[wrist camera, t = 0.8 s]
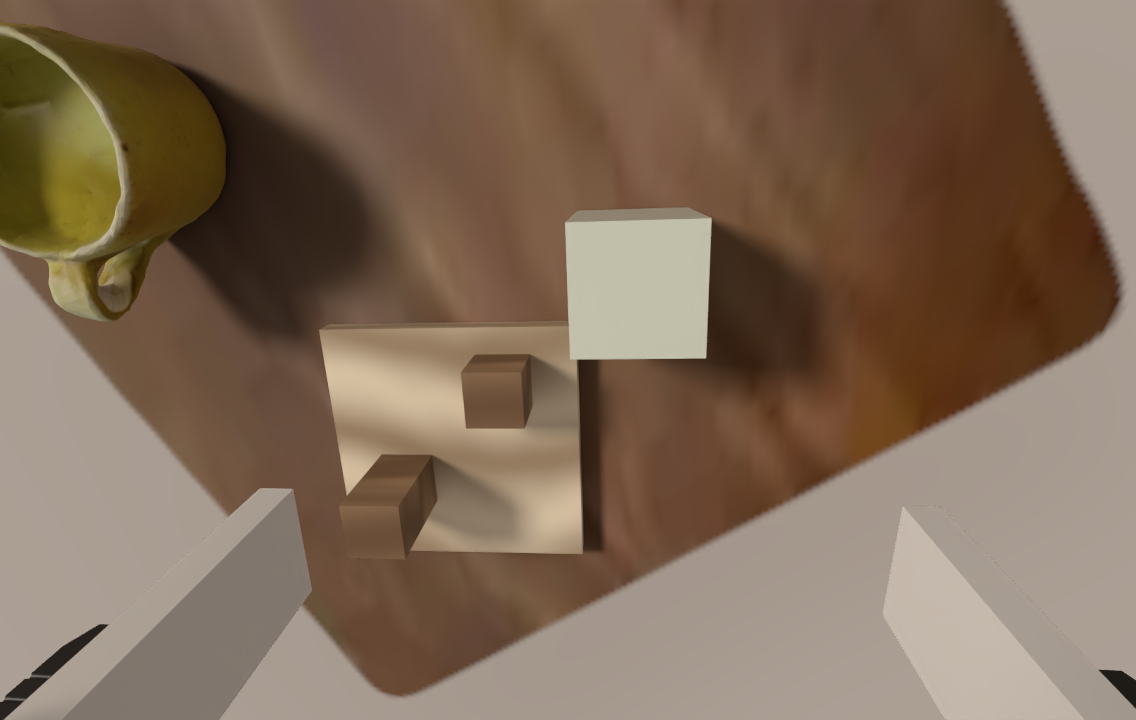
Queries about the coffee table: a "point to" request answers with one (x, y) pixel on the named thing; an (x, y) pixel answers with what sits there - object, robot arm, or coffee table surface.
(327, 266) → the coffee table surface
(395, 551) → the tall post
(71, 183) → the mug
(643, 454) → the coffee table surface
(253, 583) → the robot arm
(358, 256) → the coffee table surface
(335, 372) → the board
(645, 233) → the pale green block
